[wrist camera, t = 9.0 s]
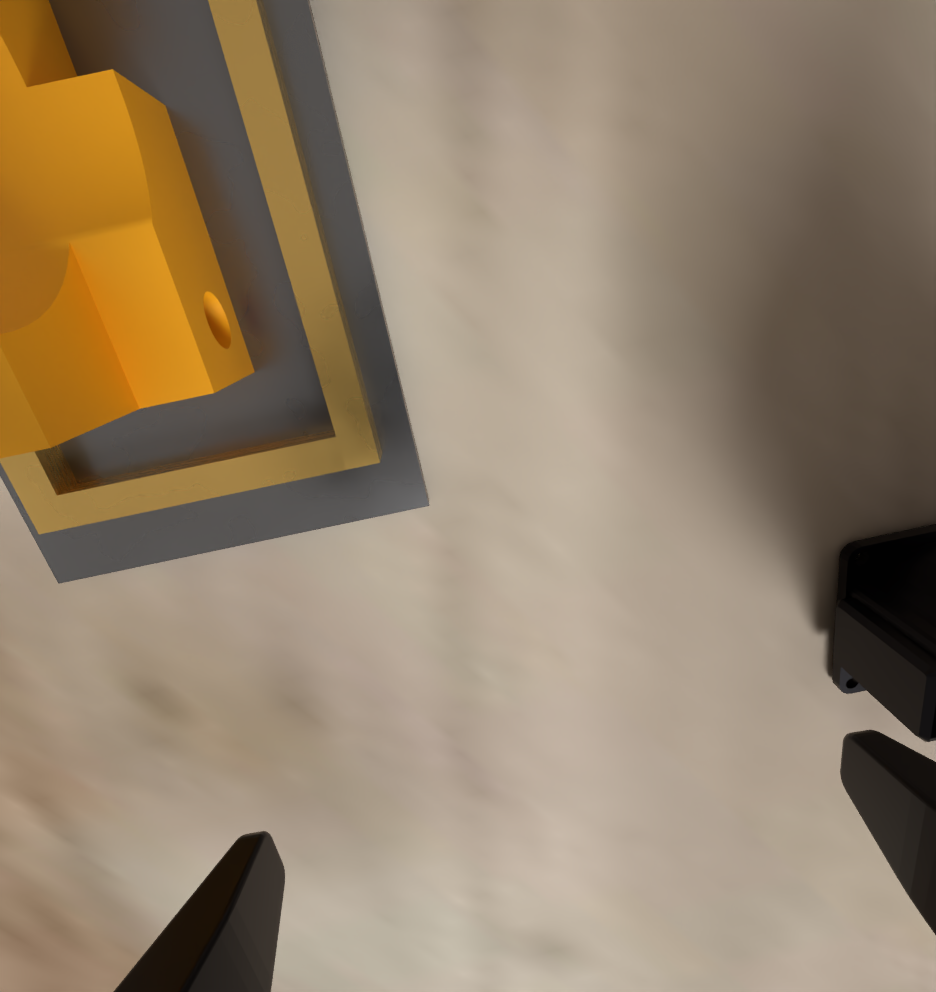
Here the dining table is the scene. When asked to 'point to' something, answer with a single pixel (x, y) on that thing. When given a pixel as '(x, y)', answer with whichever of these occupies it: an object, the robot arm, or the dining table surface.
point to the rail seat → (239, 310)
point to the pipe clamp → (97, 249)
